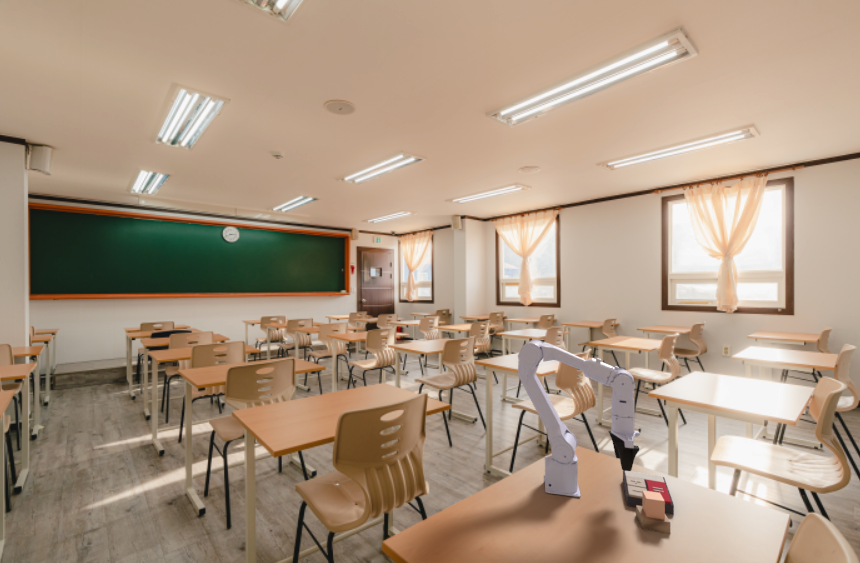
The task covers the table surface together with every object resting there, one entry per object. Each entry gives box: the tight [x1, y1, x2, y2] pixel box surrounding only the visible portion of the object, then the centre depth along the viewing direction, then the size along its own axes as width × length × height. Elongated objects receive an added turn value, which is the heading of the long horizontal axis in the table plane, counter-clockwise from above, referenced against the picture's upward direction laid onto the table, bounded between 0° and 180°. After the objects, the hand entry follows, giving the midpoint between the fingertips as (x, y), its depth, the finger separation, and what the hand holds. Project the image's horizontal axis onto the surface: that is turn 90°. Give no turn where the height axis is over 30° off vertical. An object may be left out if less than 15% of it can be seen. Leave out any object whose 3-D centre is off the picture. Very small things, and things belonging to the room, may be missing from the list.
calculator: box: [622, 470, 675, 516], centre depth 110 cm, size 11×4×15 cm
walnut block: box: [635, 505, 671, 534], centre depth 97 cm, size 6×6×3 cm
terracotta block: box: [642, 490, 666, 520], centre depth 97 cm, size 4×4×4 cm
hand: (623, 464), depth 107 cm, fingers open, 7 cm apart
